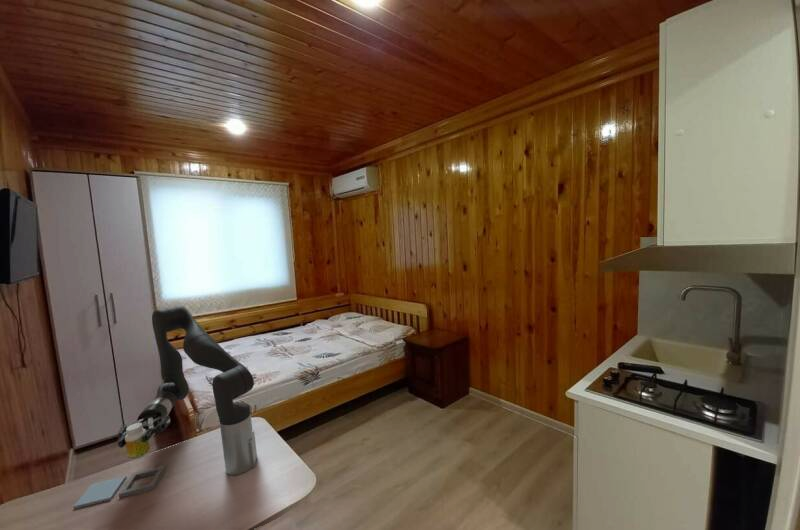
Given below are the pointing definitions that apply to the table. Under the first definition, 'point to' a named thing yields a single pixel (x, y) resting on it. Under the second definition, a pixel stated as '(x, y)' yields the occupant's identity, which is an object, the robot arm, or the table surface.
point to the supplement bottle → (136, 442)
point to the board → (100, 492)
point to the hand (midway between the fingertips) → (132, 442)
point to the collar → (128, 491)
